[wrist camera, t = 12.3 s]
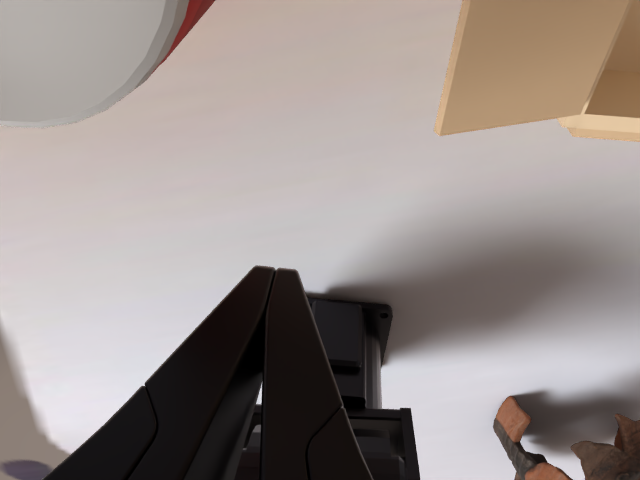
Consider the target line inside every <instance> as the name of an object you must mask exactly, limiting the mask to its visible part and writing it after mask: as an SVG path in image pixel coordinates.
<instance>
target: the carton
mask: <svg viewBox="0 0 640 480" xmlns="http://www.w3.org/2000/svg"><path fill="white" fill-rule="evenodd" d="M557 120H558V121H559V123H560V124H561V126H562V127H567V129H568V130H569V132H570V133H571V135H572V136H573V137H585V138H598V139H611V140H624V141H637V142H640V0H629V2H628V4H627V7H626V9H625V11H624V14H623V16H622V18H621V21H620V23H619V25H618V28H617V30H616V32H615V35H614V37H613V39H612V42H611V44H610V46H609V49H608V51H607V53H606V56H605V58H604V61H603V63H602V65H601V68H600V70H599V72H598V75H597V77H596V79H595V82H594V84H593V86H592V89H591V91H590V93H589V96H588V98H587V100H586V103H585V105H584V107H583V110H582V112H581V114H580V115H574V116H568V117H561V118H557Z"/></svg>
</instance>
